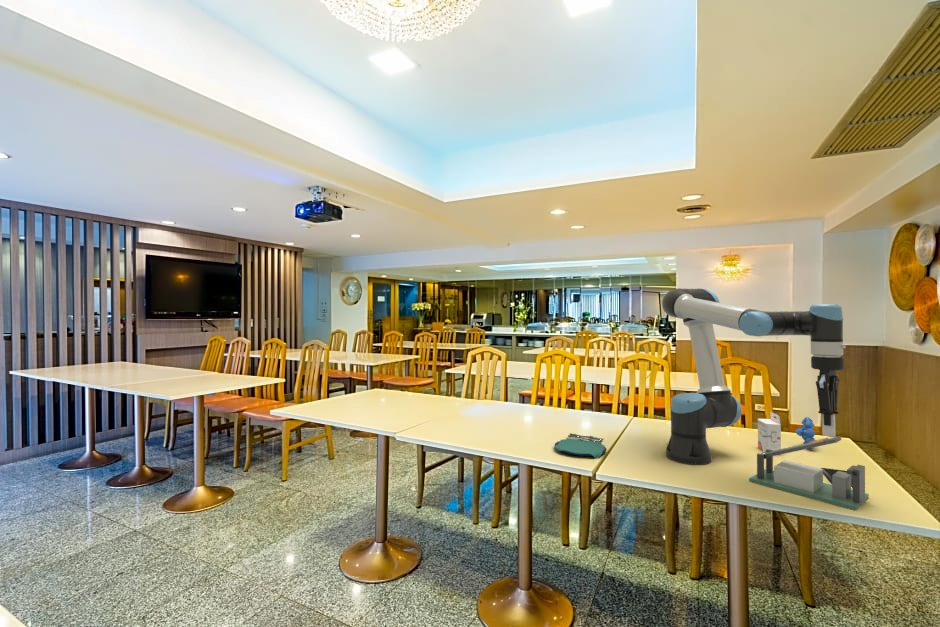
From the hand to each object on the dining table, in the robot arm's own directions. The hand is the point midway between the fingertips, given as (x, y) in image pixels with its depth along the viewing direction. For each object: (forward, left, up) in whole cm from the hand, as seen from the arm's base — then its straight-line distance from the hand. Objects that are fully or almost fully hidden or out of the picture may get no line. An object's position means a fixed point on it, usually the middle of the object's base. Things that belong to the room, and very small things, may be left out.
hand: (829, 436), depth 129 cm
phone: (-2, +19, -18) cm, 26 cm away
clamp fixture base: (-6, 0, -18) cm, 18 cm away
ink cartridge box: (-27, +33, -18) cm, 46 cm away
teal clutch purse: (-74, -20, -18) cm, 79 cm away
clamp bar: (-7, 0, -6) cm, 10 cm away
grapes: (-20, +50, -18) cm, 57 cm away
